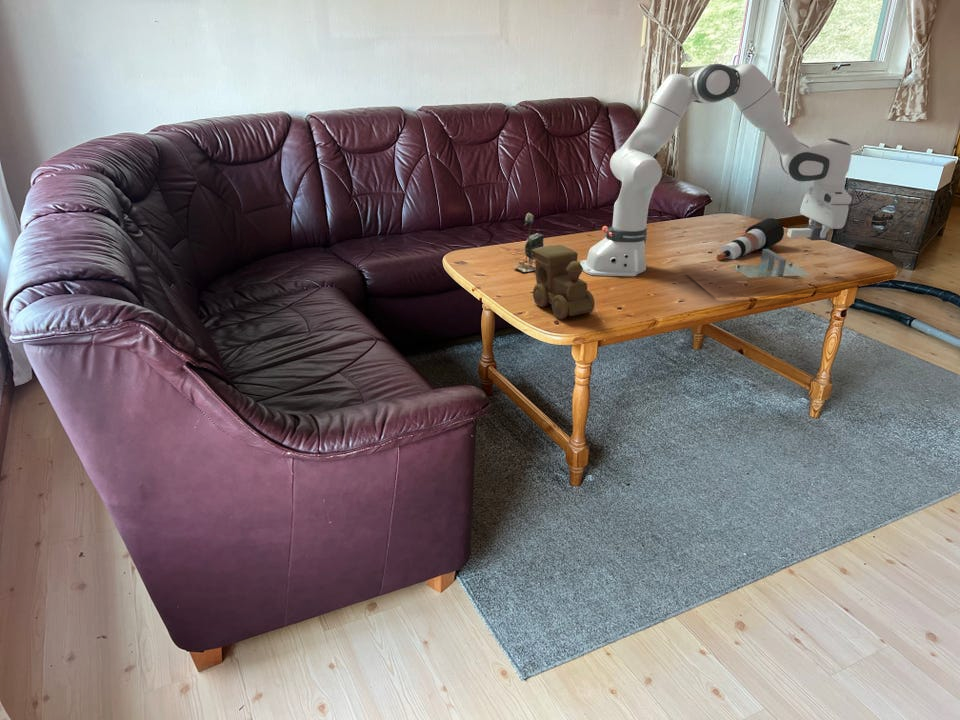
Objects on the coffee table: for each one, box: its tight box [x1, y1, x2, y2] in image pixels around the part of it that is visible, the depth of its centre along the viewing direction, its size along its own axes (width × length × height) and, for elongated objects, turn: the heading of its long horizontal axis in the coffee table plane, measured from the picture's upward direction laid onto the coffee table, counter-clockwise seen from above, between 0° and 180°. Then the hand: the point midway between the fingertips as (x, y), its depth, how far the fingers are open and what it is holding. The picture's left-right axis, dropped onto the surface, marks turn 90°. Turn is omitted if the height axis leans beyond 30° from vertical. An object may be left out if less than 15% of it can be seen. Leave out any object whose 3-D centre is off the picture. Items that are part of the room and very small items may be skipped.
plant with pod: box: [513, 212, 545, 273], centre depth 227 cm, size 8×11×20 cm
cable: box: [716, 217, 785, 261], centre depth 244 cm, size 10×34×10 cm, turn 129°
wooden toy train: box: [532, 244, 596, 320], centre depth 194 cm, size 20×11×17 cm, turn 27°
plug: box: [786, 224, 829, 241], centre depth 219 cm, size 12×4×4 cm, turn 96°
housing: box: [732, 248, 812, 279], centre depth 225 cm, size 22×12×7 cm, turn 96°
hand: (816, 235), depth 220 cm, fingers closed on plug, 4 cm apart
